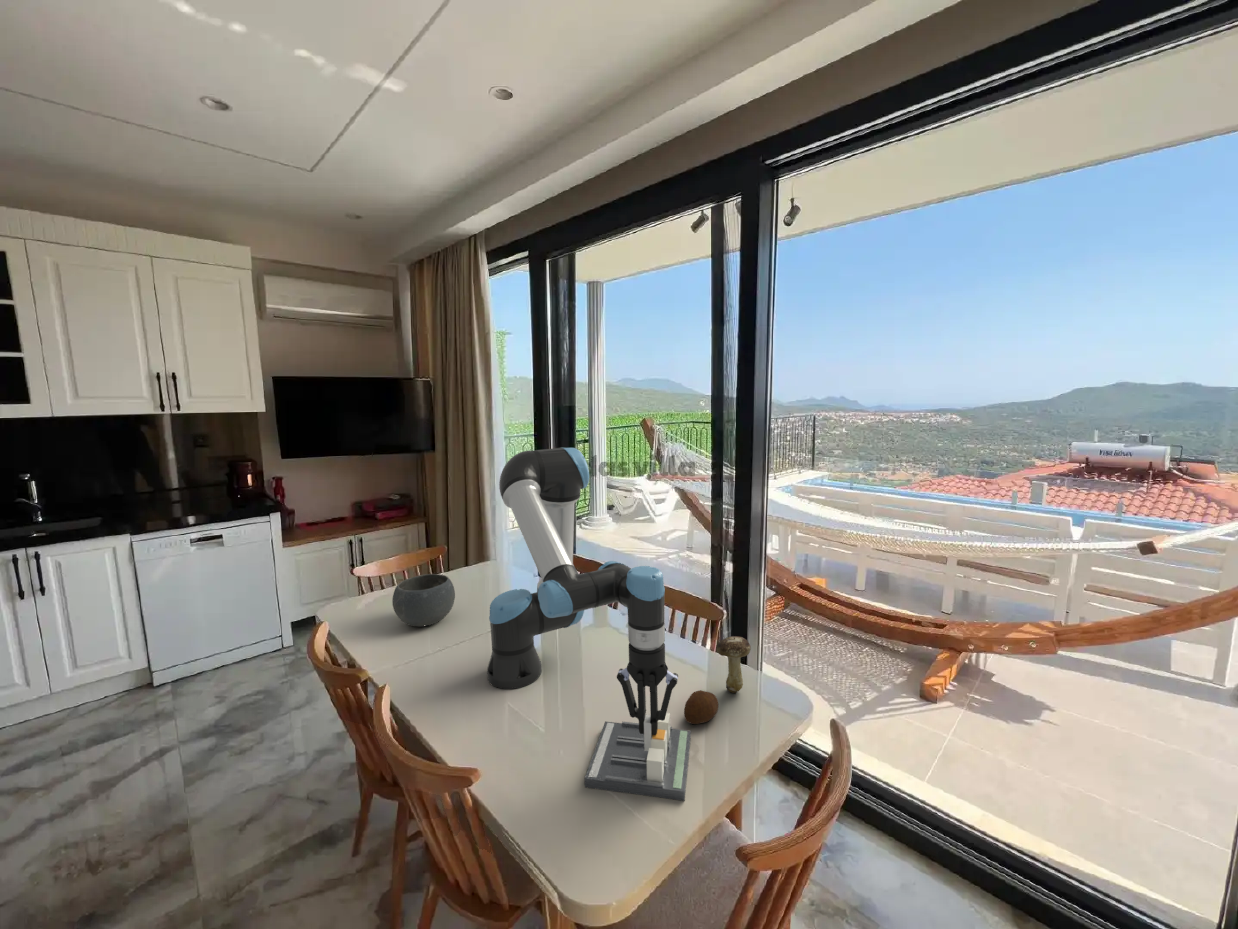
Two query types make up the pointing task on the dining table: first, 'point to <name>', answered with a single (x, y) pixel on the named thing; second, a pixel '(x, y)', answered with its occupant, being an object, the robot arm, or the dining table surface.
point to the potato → (700, 707)
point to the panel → (637, 762)
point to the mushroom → (734, 660)
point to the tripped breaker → (660, 741)
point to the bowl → (423, 599)
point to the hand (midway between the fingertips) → (648, 746)
